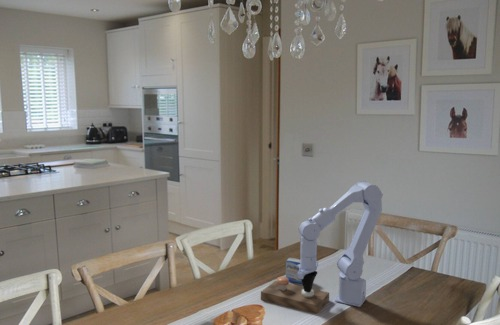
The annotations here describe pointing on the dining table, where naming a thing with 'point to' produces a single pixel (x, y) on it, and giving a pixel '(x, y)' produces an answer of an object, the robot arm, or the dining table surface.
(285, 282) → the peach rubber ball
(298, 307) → the board
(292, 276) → the medicine box
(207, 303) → the dining table surface
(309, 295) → the white egg
